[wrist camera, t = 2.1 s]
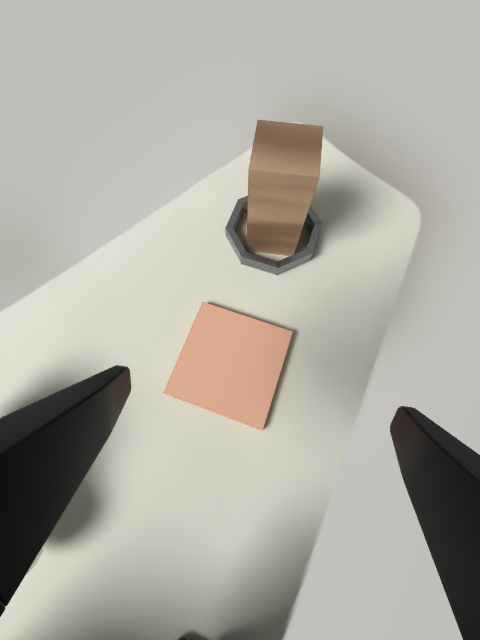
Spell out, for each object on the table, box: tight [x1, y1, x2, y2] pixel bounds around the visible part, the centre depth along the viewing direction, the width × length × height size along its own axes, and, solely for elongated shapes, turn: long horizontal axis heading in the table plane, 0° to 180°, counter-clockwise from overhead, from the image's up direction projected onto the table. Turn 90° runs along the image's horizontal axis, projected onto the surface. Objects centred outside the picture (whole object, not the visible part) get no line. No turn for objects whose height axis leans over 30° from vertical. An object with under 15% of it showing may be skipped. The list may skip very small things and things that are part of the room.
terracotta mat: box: [163, 302, 293, 431], centre depth 22 cm, size 8×8×1 cm
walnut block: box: [247, 120, 323, 256], centre depth 22 cm, size 4×4×9 cm
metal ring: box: [225, 196, 322, 275], centre depth 25 cm, size 8×8×1 cm
